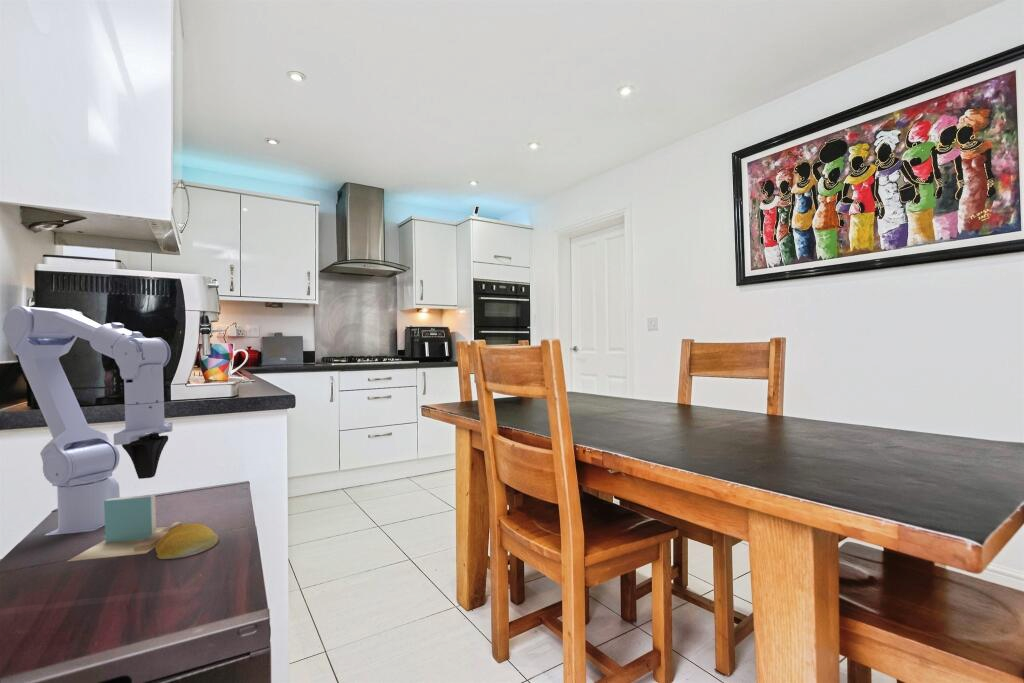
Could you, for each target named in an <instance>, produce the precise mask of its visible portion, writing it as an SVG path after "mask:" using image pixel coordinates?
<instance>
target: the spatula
mask: <svg viewBox="0 0 1024 683" xmlns="http://www.w3.org/2000/svg"><path fill="white" fill-rule="evenodd" d="M181 525H182V522H181V521H177V522H176V521H175V522H173V523H172V524H170V525H169V526H166V527H167V528H165V529H164V530H162V531H161V532H156V533H154V534H152V535H150V536H149V537H147V538H146V539H144V540H143V541H141V542H139V543H138V544H136V545H135V546H134V551H141V550H150V549H152V548H153V549H155V548H156V547H155V546H156V545H157V543H158V541H159V540H160V538H162V537H163V536H164V535H165V534H166V533H167V532H169V531H170V530H172V529H174V528H176V527H178V526H181ZM154 547H155V548H154ZM153 549H152V550H153ZM150 551H151V550H150Z"/></svg>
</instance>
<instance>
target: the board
mask: <svg viewBox="0 0 1024 683" xmlns="http://www.w3.org/2000/svg"><path fill="white" fill-rule="evenodd" d="M167 527H168V526H160V527H156V532H161V531H162V530H164V529H165V528H167ZM143 540H144V539H138V540H128V541H118V542H108V543H105V539H104V540H102V541H100V542H98V543H97V544H95V545H93V546H91V547H89V548H87V549H86V550H84V551H82V552H81V553H79V554H76V556H73V557H72V558H70V559H69V560H66V562H77V561H79V562H80V561H85V560H86V561H88V560H96V559H105V558H106V559H107V558H115V557H123V556H125V557H126V556H134V555H144V554H146V555H147V554H148V553H149V552H150V551H152V550H153V549H156V546H155V547H154V548H152V549H150V550H141V551H134V546H135V545H136V544H138V543H139V542H141V541H143Z"/></svg>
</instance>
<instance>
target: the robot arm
mask: <svg viewBox="0 0 1024 683" xmlns="http://www.w3.org/2000/svg"><path fill="white" fill-rule="evenodd" d="M2 332H3V333H4V335H5V338H6V340H7V342H8V345H9V347H10V350H11V351H12V353H13V354H14V355H16V356H17V357H18V360H19V363H20V366H21V368H22V371H23V373H24V375H25V377H26V380H27V381H28V382H27V383H28V384H29V386H30V389H31V391H32V392H33V395H34V398H35V400H36V402H37V404H38V407H39V409H40V411H41V414H42V416H43V418H44V421H45V423H46V425H47V428H48V430H49V432H50V434H51V437H52V439H51V440H50V441H48V443H47V444H46V445H45V446H44V447H42V450H41V451H40V456H41V457H40V458H41V461H42V473H43V475H44V477H45V480H47V481H48V482H49V483H50V484H52V487H57V490H56V491H57V496H56V497H57V529H55V530H52V531H50V532H47V533H46V534H45V536H53V535H63V534H64V535H65V534H74V533H84V532H86V533H87V532H94V531H97V530H98V529H101V527H102V528H103V526H104V527H105V509H104V501H106V500H108V499H111V498H121V496H120V484H119V482H118V481H117V479H115V478H114V477H113V472H114V471H115V470H116V469H117V468H118V466H119V464H120V458H121V456H120V450H119V449H118V447H117V446H118V445H121V447H122V448H123V449H124V451H125V452H126V453H127V455H128V456H129V457H130V459H131V462H132V464H133V467H134V470H135V473H136V475H137V478H138V479H139V480H141V479H142V480H143V479H151V478H154V477H155V476H156V473H157V470H158V465H159V462H160V458H161V456H162V452H163V450H164V448H165V446H166V444H167V443H168V440H169V435H166V434H165V435H160V434H164V433H170V432H173V421H165V398H164V397H165V395H164V394H165V393H164V391H165V390H164V367H166V366H167V365H168V363H169V361H170V359H171V356H172V355H171V354H172V352H171V347H170V345H169V343H168V342H167V341H166V340H164V339H163V338H162V337H150V338H149V337H145V336H144V335H143V333H142V332H140V331H132V330H130V329H127V328H125V324H124V323H121V322H111V323H105V324H104V323H103V324H100V323H99V322H96V321H95V320H93V319H90V318H88V317H87V316H84V314H83V312H82V311H77V310H75V309H73V308H65V309H64V308H50V307H36V306H35V307H33V306H25V305H19V304H18V305H14V306H12V307H11V308H10V309H9V310H8V311H7V313H6V314H5V315H4V320H3V323H2ZM77 338H80V339H82V340H85V341H88V342H89V344H90V347H91V348H92V349H93V350H94V351H95V352H98V353H101V354H102V355H104V356H107V357H108V358H111V359H114V361H115V363H116V365H117V366H118V369H119V376H120V377H121V380H123V386H124V387H123V388H124V424H125V426H124V429H122V430H120V431H118V432H115V433H113V442H112V441H111V440H110V439H109V437H108V434H107V433H105V432H102V431H100V430H98V429H94V428H92V427H90V426H89V423H88V422H87V419H86V417H85V415H84V413H83V411H82V409H81V407H80V404H79V402H78V400H77V397H76V395H75V392H74V390H73V388H72V386H71V384H70V382H69V380H68V377H67V375H66V372H65V370H64V369H63V366H62V364H61V362H60V357H62V356H64V355H66V354H68V353H69V352H70V350H71V348H72V346H73V345H74V344H75V342H76V341H77Z"/></svg>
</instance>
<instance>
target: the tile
mask: <svg viewBox="0 0 1024 683" xmlns="http://www.w3.org/2000/svg"><path fill="white" fill-rule="evenodd" d="M104 509H105V525H104V540H105V543H108V542H118V541H128V540H138V539H146V538H147V537H149V536H150V535H152V534H154V533H156V528H157V516H156V512H157V510H156V494H149V495H148V494H146V495H135V496H125V497H123V496H122V497H120V498H111V499H108V500H106V501H104Z"/></svg>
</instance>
